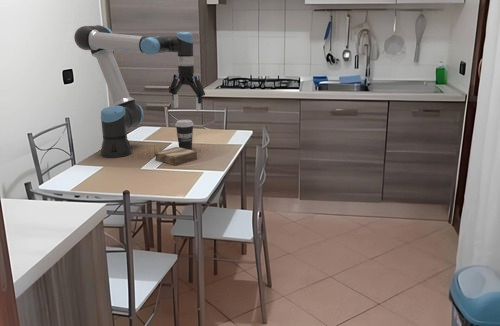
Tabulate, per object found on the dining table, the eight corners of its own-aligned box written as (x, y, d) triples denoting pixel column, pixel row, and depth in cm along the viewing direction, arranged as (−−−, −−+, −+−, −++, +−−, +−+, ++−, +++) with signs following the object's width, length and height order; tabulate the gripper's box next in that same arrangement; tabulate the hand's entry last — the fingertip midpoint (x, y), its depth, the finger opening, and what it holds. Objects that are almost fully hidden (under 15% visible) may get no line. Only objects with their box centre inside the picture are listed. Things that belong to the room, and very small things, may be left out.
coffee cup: (172, 150, 252) (171, 122, 247) (182, 146, 260) (180, 118, 256) (189, 152, 248) (188, 123, 244) (198, 148, 257) (197, 120, 253)
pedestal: (155, 160, 235) (155, 152, 234) (176, 154, 246) (176, 146, 245) (175, 165, 227) (175, 157, 226) (196, 158, 237) (196, 150, 236)
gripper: (160, 64, 239) (162, 107, 245) (202, 67, 227) (203, 112, 233) (170, 63, 245) (171, 105, 251) (211, 65, 233) (212, 109, 240)
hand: (187, 108), depth 242 cm, fingers open, 13 cm apart
